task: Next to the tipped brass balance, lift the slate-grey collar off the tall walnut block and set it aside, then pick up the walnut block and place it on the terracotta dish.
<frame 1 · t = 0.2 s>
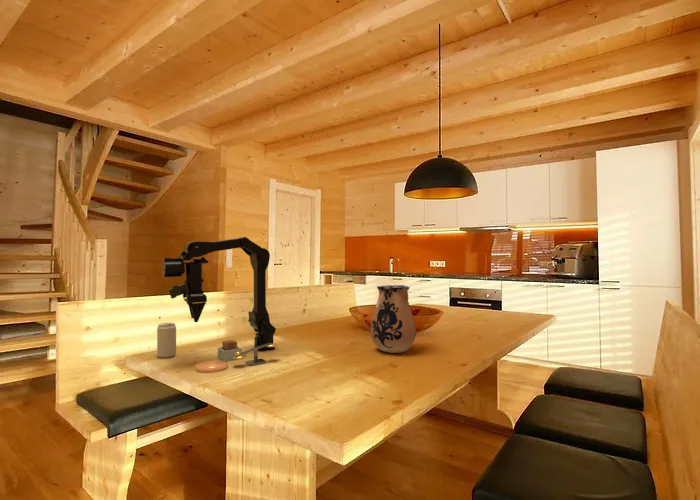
hand: (194, 320, 144), 14 cm above the table, tool pointing down, fingers open, 9 cm apart
ceramic pitcher: (394, 350, 158), on the table
collar: (229, 358, 146), on the table
block: (229, 349, 146), in the collar
balance: (255, 363, 139), on the table
dish: (211, 368, 133), on the table
beverage can: (166, 356, 148), on the table
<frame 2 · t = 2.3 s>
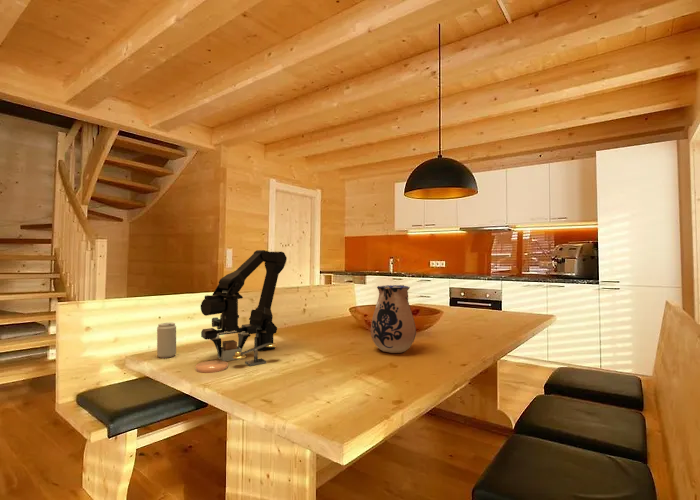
hand: (229, 355, 146), 1 cm above the table, tool pointing down, fingers closed on collar, 7 cm apart
collar: (229, 358, 146), on the table, touching gripper
everything else where it was.
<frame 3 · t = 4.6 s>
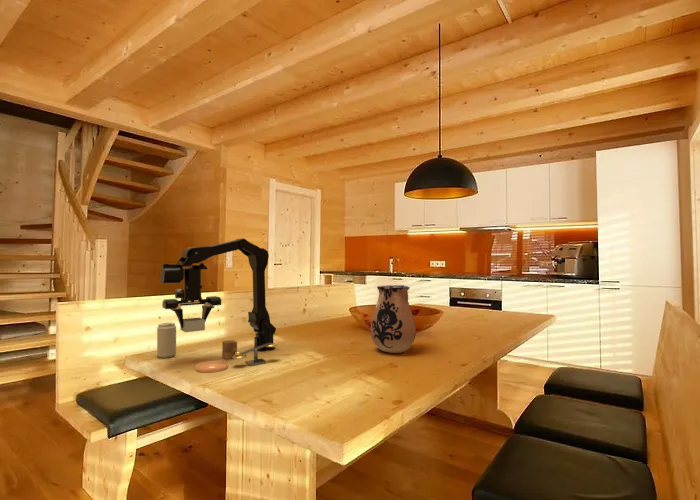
hand: (192, 326, 142), 12 cm above the table, tool pointing down, fingers closed on collar, 7 cm apart
collar: (192, 329, 142), point 11 cm above the table, touching gripper
everything else where it was.
when the fingers open (2 cm above the table, at t = 6.8 s): collar drops 1 cm, on the table.
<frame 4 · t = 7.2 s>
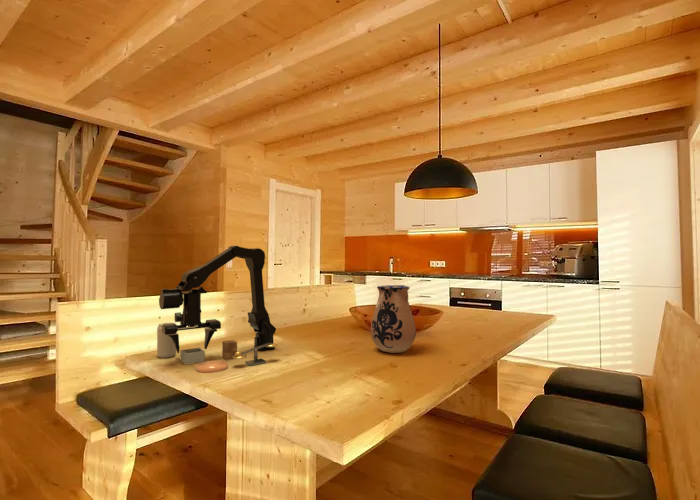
hand: (192, 351, 142), 3 cm above the table, tool pointing down, fingers open, 9 cm apart
collar: (192, 360, 142), on the table
everything else where it was.
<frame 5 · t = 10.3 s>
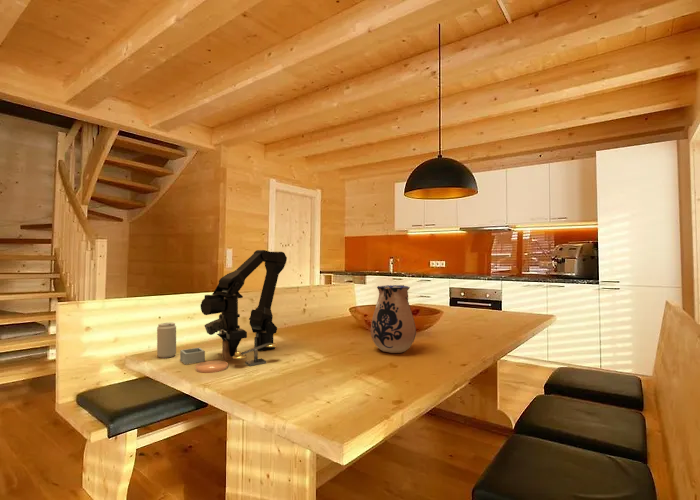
hand: (229, 354, 146), 1 cm above the table, tool pointing down, fingers closed on block, 4 cm apart
block: (229, 349, 146), on the table, touching gripper
everything else where it was.
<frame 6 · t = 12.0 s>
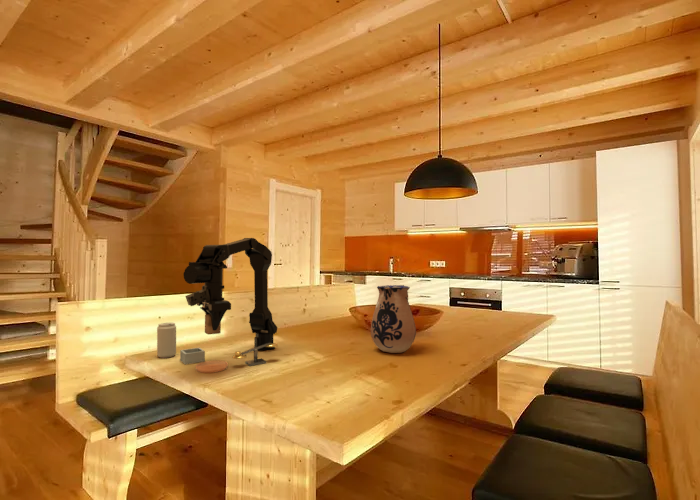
hand: (212, 329, 134), 13 cm above the table, tool pointing down, fingers closed on block, 4 cm apart
block: (212, 323, 134), point 14 cm above the table, touching gripper
everything else where it was.
when the fingers open (4 cm above the table, at t = 13.9 s): block drops 2 cm, resting on dish.
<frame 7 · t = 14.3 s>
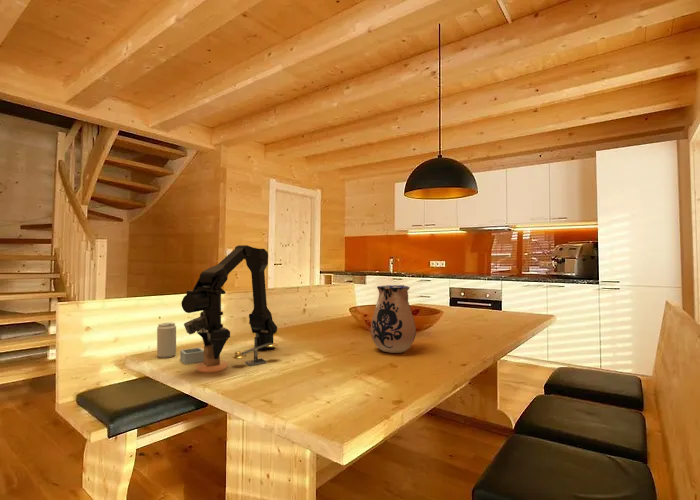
hand: (212, 356, 133), 4 cm above the table, tool pointing down, fingers open, 8 cm apart
block: (211, 355, 133), on the dish, point 4 cm above the table
everything else where it was.
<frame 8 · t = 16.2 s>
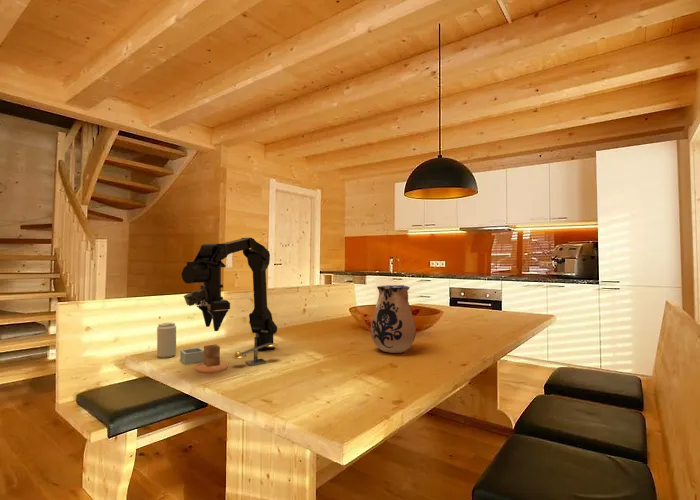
hand: (211, 328, 133), 13 cm above the table, tool pointing down, fingers open, 9 cm apart
nothing on the table moved.
at the end: block inside the target area on the dish (0.1 cm from its centre), point 4.2 cm above the dish's base; block tilted 0°; collar moved 12.6 cm from its start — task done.
